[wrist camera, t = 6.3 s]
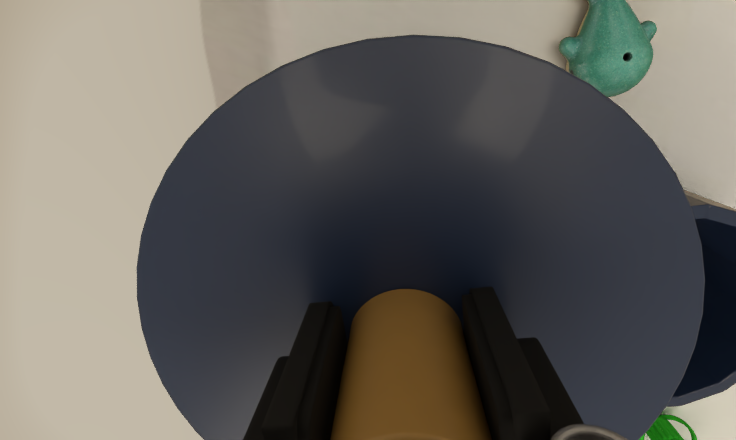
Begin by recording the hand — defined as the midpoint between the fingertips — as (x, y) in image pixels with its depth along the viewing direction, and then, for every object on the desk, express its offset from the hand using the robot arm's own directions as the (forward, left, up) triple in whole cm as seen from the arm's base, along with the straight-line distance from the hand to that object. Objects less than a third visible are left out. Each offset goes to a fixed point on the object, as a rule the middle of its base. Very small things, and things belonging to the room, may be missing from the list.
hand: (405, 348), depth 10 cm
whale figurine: (-7, +14, -22) cm, 27 cm away
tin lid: (0, 0, -1) cm, 1 cm away
